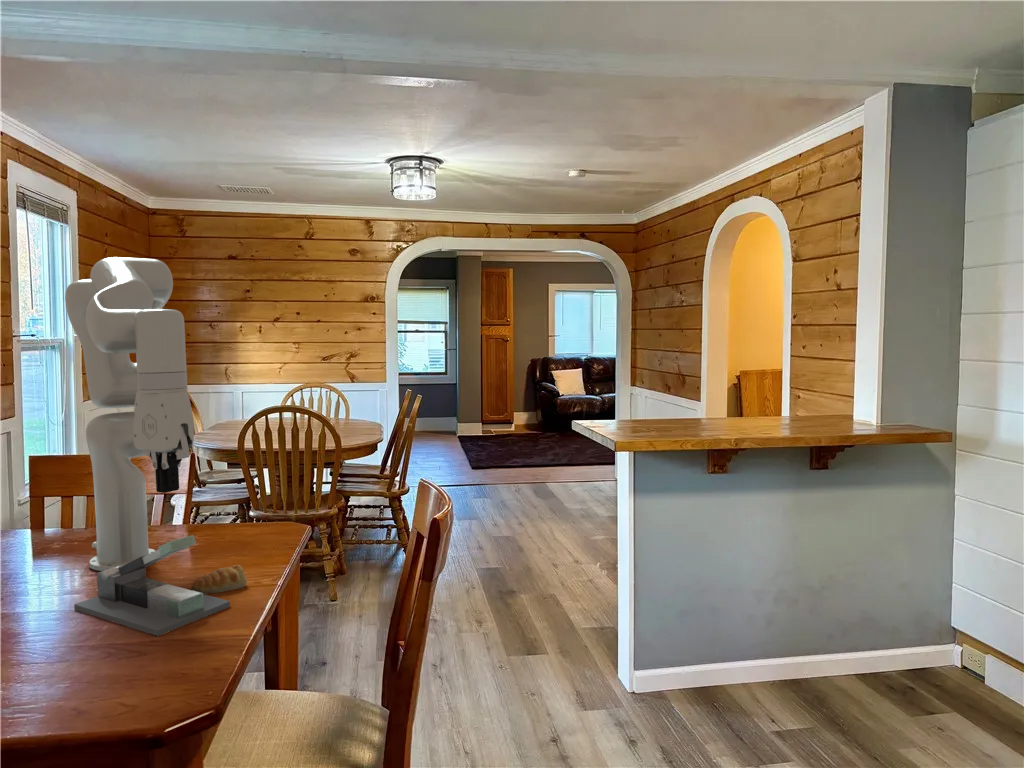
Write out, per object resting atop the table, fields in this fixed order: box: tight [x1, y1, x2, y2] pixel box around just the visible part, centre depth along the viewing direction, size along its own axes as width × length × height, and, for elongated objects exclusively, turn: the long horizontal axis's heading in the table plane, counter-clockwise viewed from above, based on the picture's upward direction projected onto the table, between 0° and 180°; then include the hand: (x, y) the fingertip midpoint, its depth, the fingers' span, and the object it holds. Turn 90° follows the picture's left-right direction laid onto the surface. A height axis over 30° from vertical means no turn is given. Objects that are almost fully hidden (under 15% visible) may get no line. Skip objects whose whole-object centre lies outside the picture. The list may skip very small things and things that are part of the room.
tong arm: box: [119, 534, 197, 576], centre depth 126 cm, size 16×5×2 cm, turn 60°
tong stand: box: [96, 563, 204, 619], centre depth 127 cm, size 22×6×5 cm, turn 61°
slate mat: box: [73, 594, 231, 637], centre depth 127 cm, size 23×14×1 cm, turn 61°
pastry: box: [191, 564, 248, 595], centre depth 137 cm, size 9×7×4 cm
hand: (168, 490), depth 123 cm, fingers closed
